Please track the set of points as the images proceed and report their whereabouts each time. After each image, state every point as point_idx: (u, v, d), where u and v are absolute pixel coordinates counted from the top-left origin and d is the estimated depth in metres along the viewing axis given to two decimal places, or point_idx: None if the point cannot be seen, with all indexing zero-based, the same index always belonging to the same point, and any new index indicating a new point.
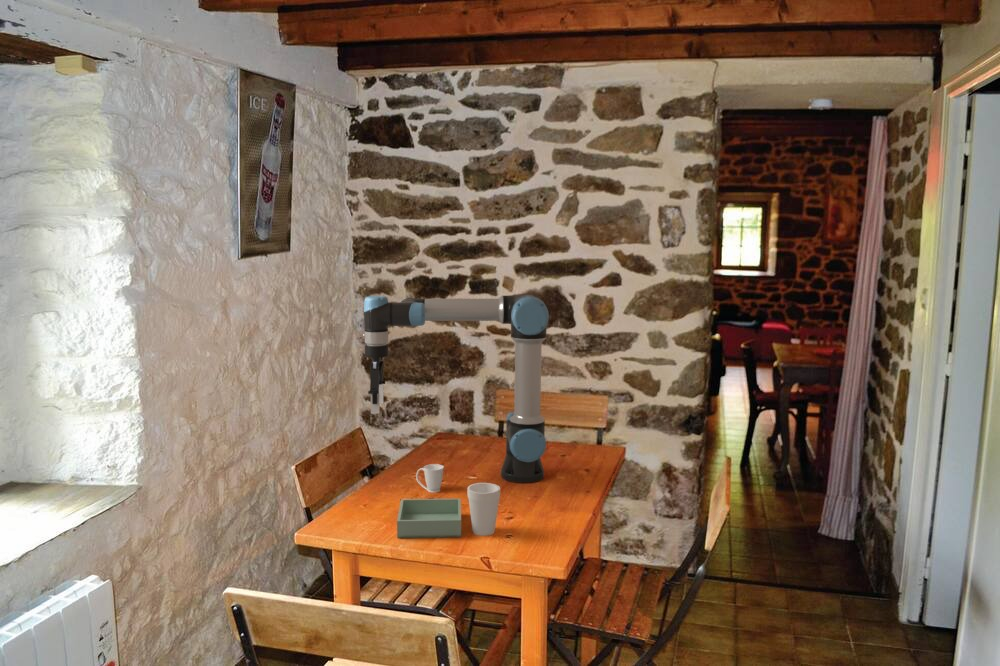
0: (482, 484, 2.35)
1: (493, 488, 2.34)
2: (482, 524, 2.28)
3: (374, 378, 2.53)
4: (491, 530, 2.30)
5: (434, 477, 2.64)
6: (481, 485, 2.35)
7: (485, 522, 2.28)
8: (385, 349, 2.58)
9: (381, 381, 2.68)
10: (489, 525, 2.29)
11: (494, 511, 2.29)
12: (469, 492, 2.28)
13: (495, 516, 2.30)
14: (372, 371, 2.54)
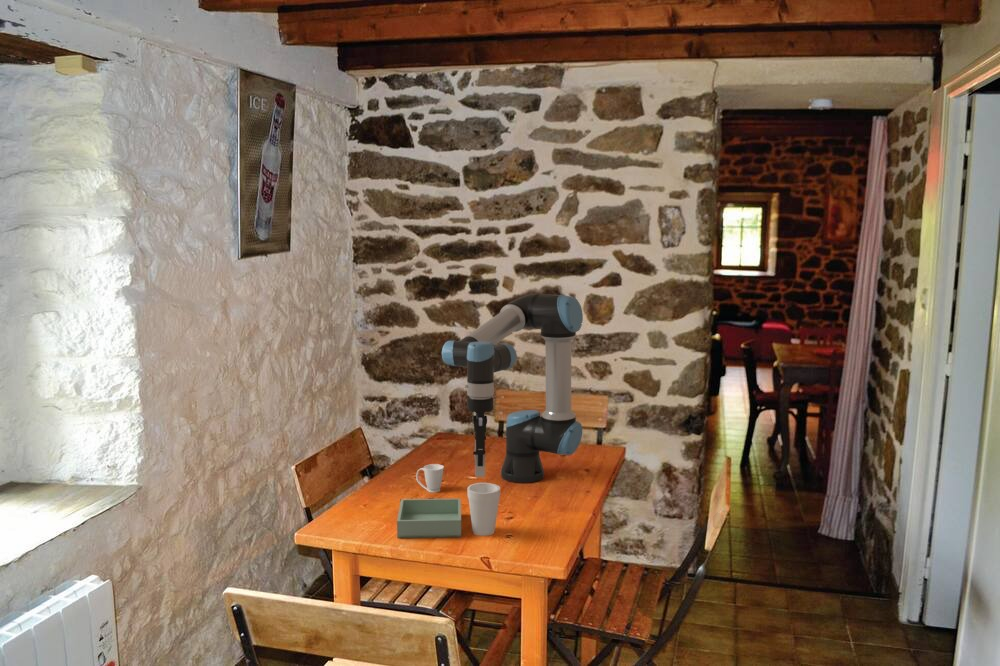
0: (482, 484, 2.35)
1: (493, 488, 2.34)
2: (482, 524, 2.28)
3: (480, 437, 2.21)
4: (491, 530, 2.30)
5: (434, 477, 2.64)
6: (481, 485, 2.35)
7: (485, 522, 2.28)
8: (491, 402, 2.26)
9: None
10: (489, 525, 2.29)
11: (494, 511, 2.29)
12: (469, 492, 2.28)
13: (495, 516, 2.30)
14: (478, 429, 2.22)
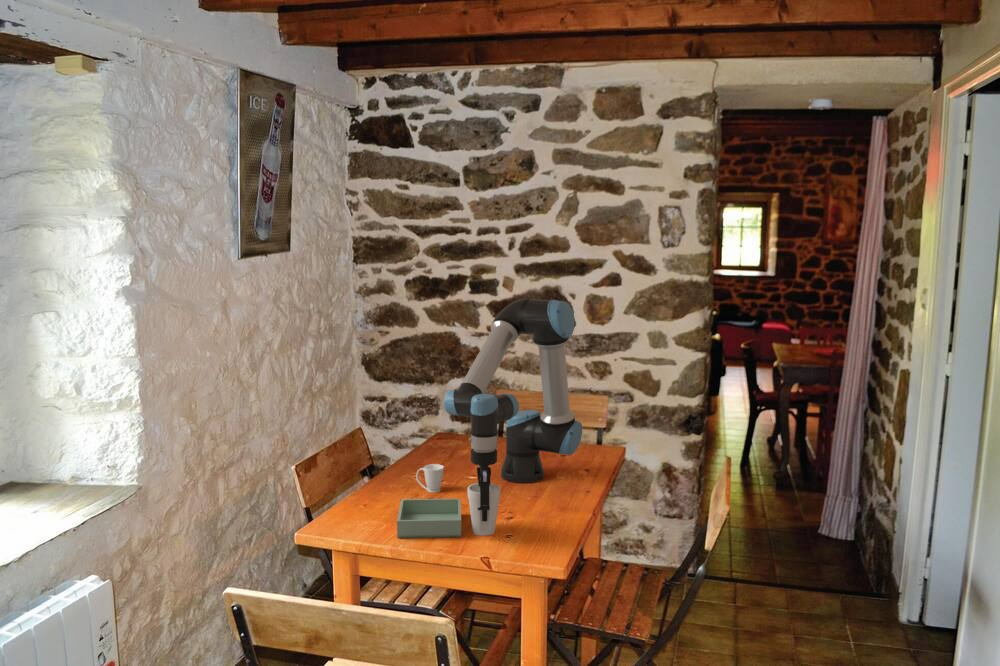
0: None
1: (493, 488, 2.34)
2: None
3: (485, 494, 2.23)
4: (491, 530, 2.30)
5: (434, 477, 2.64)
6: None
7: None
8: (495, 455, 2.27)
9: None
10: (489, 525, 2.29)
11: (494, 511, 2.29)
12: (469, 492, 2.28)
13: (495, 516, 2.30)
14: (482, 485, 2.23)
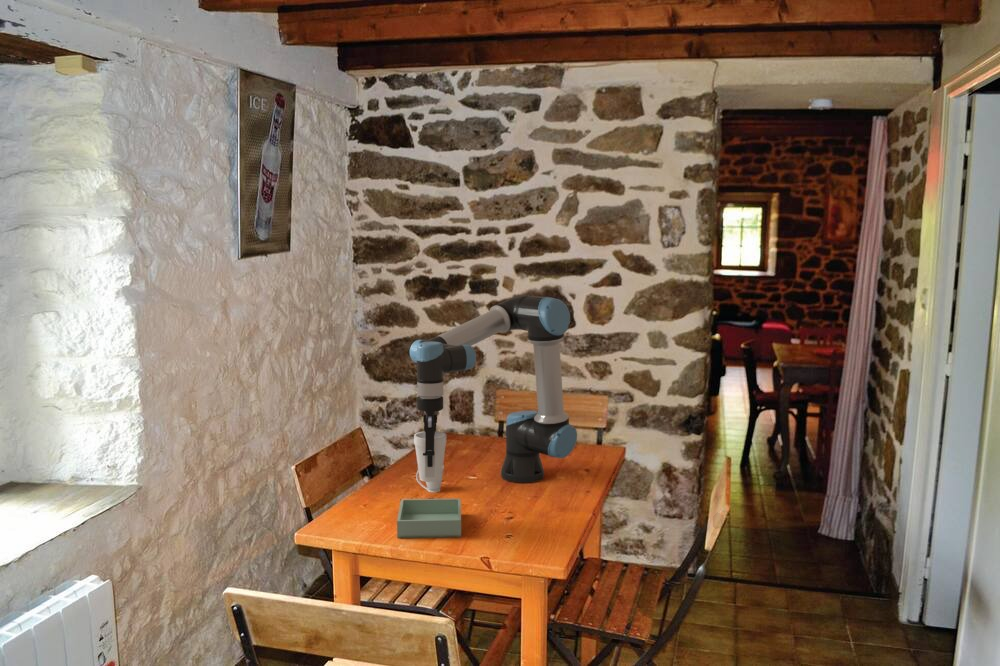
0: None
1: (440, 436, 2.36)
2: None
3: (430, 439, 2.25)
4: (437, 476, 2.32)
5: None
6: None
7: None
8: (440, 401, 2.29)
9: None
10: (435, 471, 2.31)
11: (440, 457, 2.31)
12: (415, 439, 2.30)
13: (441, 463, 2.32)
14: (427, 430, 2.25)
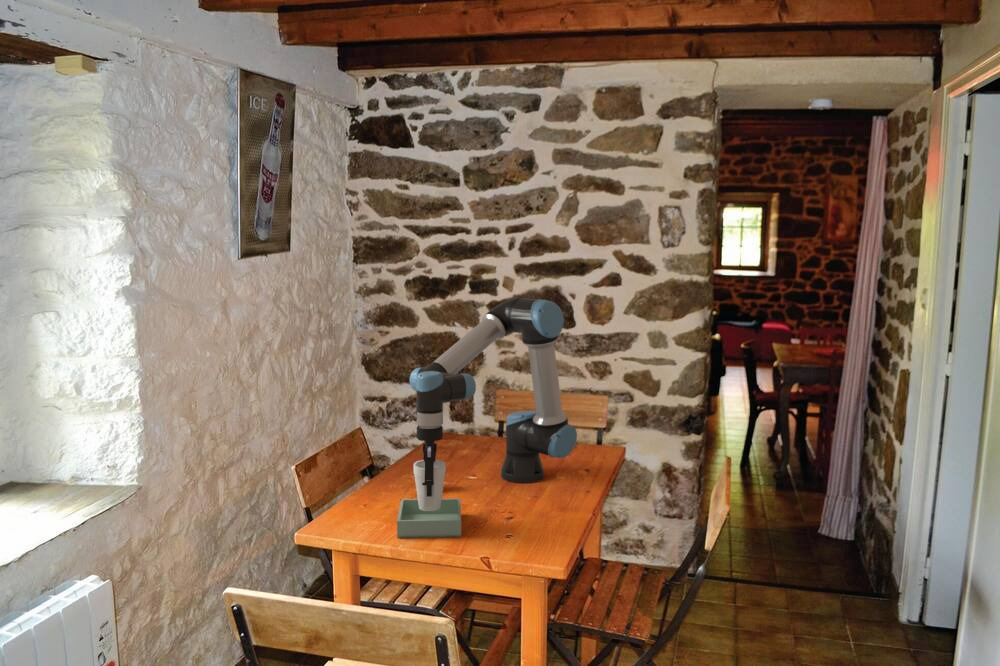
0: None
1: (439, 464, 2.37)
2: None
3: (429, 469, 2.26)
4: (436, 506, 2.33)
5: None
6: None
7: None
8: (440, 431, 2.30)
9: None
10: (434, 500, 2.32)
11: (439, 487, 2.32)
12: (415, 468, 2.32)
13: (441, 492, 2.33)
14: (426, 460, 2.27)
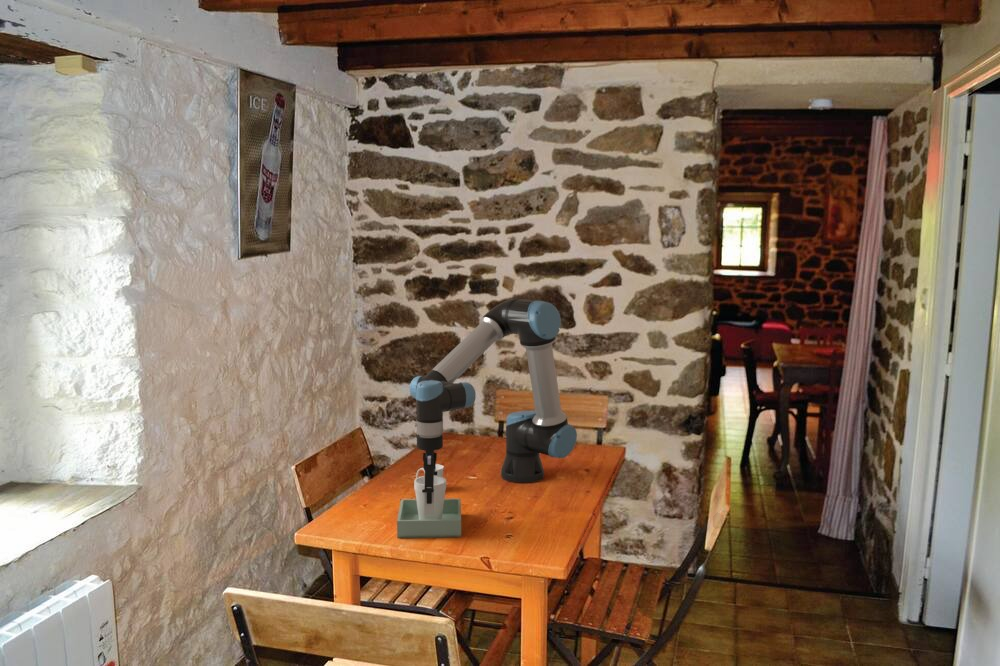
0: None
1: (440, 480, 2.38)
2: (428, 516, 2.33)
3: (429, 476, 2.26)
4: None
5: None
6: None
7: (431, 514, 2.33)
8: (440, 440, 2.31)
9: None
10: (435, 517, 2.33)
11: (440, 503, 2.33)
12: (415, 484, 2.33)
13: (441, 508, 2.35)
14: (426, 467, 2.26)
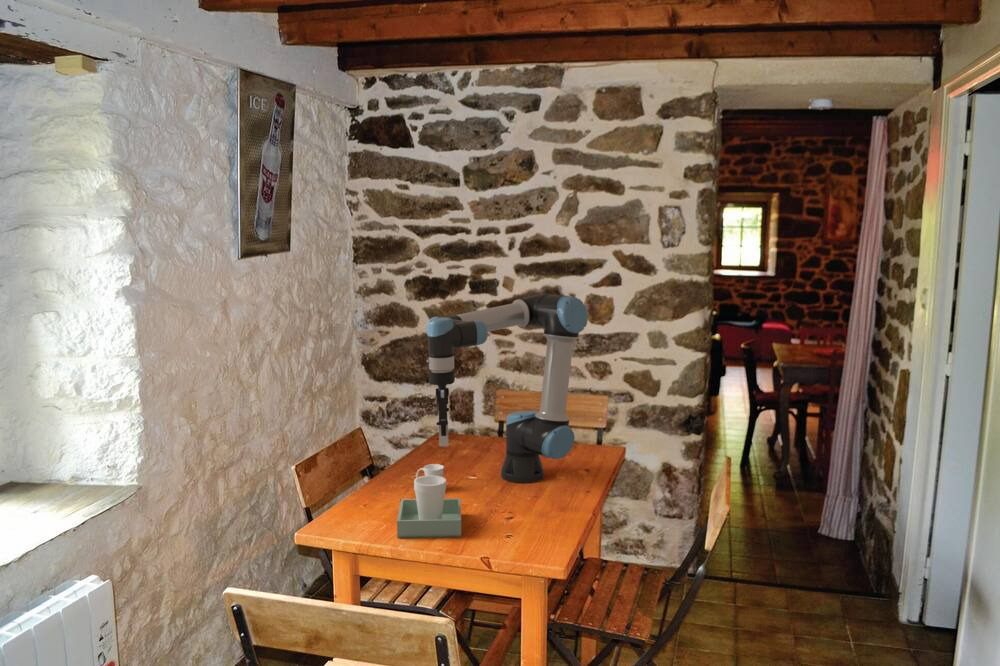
0: (429, 477, 2.39)
1: (440, 480, 2.38)
2: (428, 516, 2.33)
3: (443, 409, 2.33)
4: None
5: None
6: (428, 478, 2.39)
7: (431, 514, 2.33)
8: (452, 375, 2.38)
9: None
10: (435, 517, 2.33)
11: (440, 503, 2.33)
12: (415, 484, 2.33)
13: (441, 508, 2.35)
14: (440, 400, 2.33)
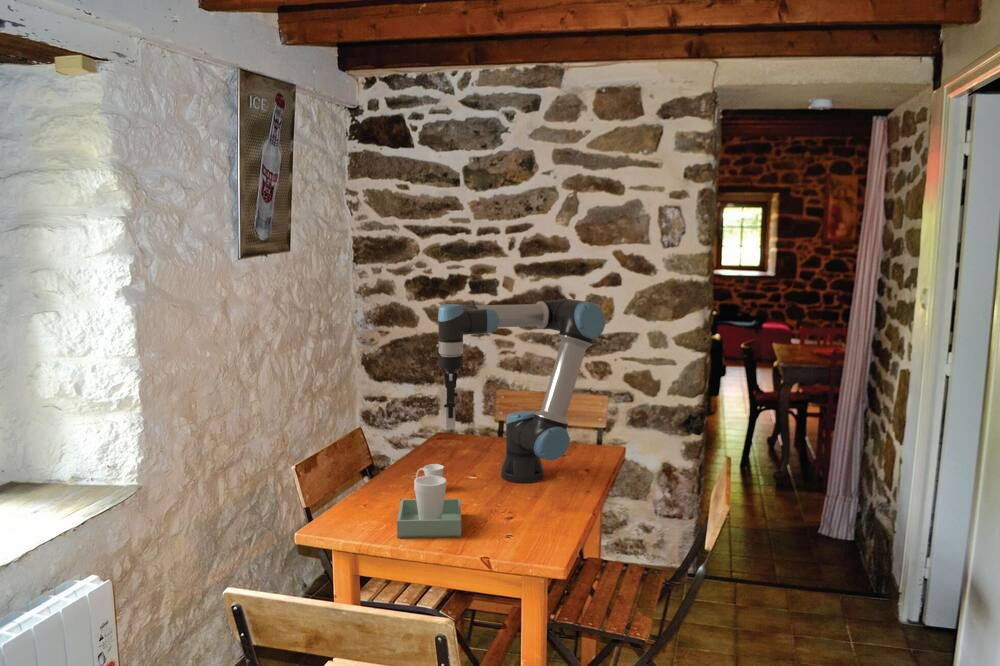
0: (429, 477, 2.39)
1: (440, 480, 2.38)
2: (428, 516, 2.33)
3: (450, 391, 2.40)
4: None
5: None
6: (428, 478, 2.39)
7: (431, 514, 2.33)
8: (460, 360, 2.45)
9: None
10: (435, 517, 2.33)
11: (440, 503, 2.33)
12: (415, 484, 2.33)
13: (441, 508, 2.35)
14: (448, 383, 2.41)
